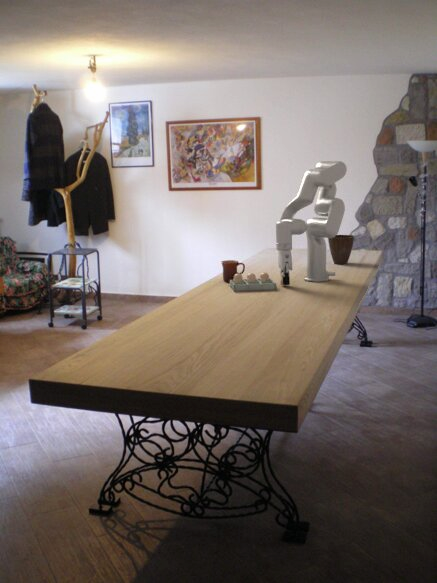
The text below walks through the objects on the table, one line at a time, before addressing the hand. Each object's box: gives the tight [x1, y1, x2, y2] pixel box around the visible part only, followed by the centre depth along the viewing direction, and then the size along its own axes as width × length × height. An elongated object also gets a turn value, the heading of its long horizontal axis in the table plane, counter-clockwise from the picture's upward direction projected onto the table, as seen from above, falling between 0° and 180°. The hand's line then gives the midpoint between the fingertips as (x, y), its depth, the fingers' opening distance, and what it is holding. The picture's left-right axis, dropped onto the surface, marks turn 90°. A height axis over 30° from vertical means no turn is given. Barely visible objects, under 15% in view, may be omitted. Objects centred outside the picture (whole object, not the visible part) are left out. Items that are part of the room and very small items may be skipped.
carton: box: [229, 272, 277, 293], centre depth 318 cm, size 20×14×7 cm
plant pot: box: [327, 234, 355, 265], centre depth 381 cm, size 15×15×16 cm
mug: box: [221, 259, 246, 283], centre depth 336 cm, size 12×9×10 cm
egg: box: [279, 273, 290, 286], centre depth 321 cm, size 4×4×6 cm
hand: (285, 283), depth 321 cm, fingers closed on egg, 4 cm apart
